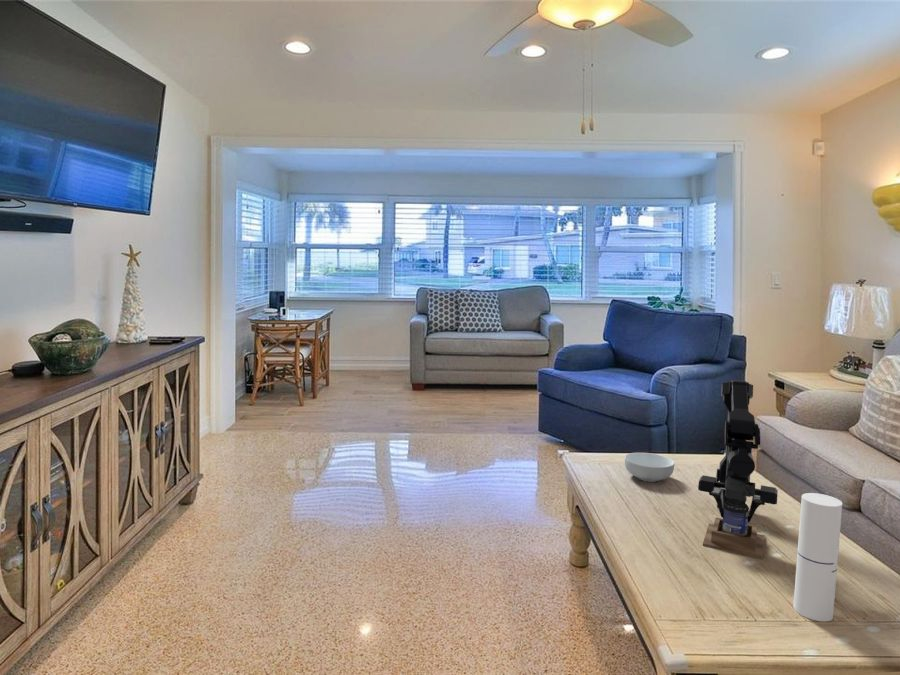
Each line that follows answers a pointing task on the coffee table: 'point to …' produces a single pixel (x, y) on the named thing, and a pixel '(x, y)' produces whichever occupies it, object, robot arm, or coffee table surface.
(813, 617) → the cylindrical container
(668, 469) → the cereal bowl
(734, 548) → the walnut holder
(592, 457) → the coffee table surface
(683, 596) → the coffee table surface
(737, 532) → the pill bottle
